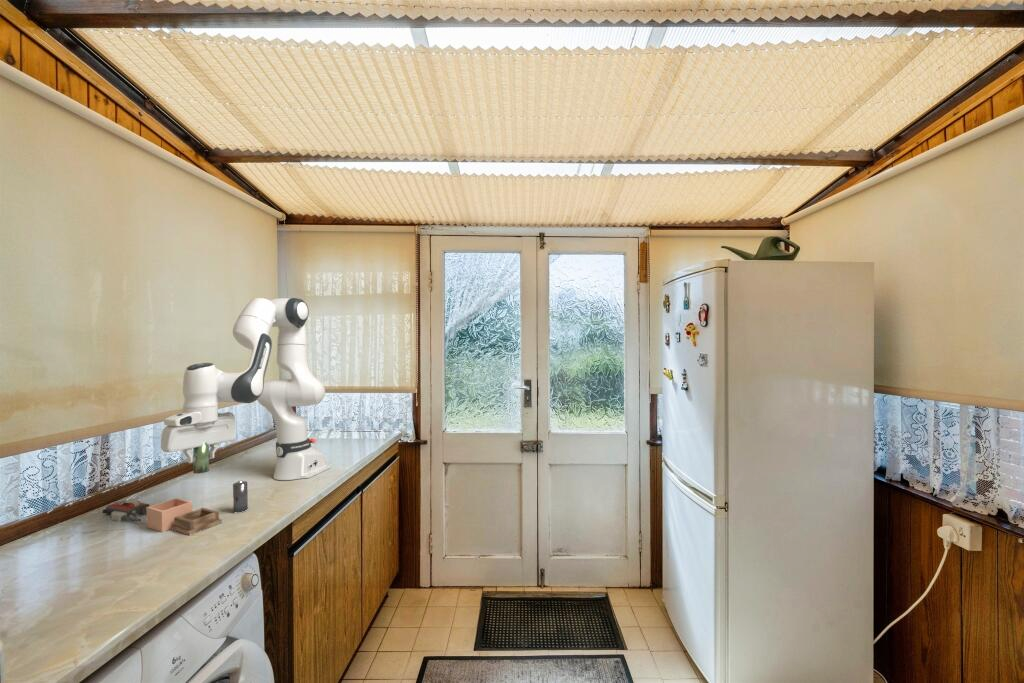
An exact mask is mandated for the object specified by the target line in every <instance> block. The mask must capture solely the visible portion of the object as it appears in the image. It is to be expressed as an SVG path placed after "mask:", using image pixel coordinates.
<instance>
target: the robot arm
mask: <svg viewBox="0 0 1024 683" xmlns="http://www.w3.org/2000/svg"><path fill="white" fill-rule="evenodd" d="M309 313H310V312H309V306H308V304H307V303H306V301H304V300H303V299H302V298H298V297H291V298H289V297H288V298H287V297H284V298H283V297H281V298H280V297H279V298H273V299H267V298H263V297H254V298H253V299H251V300H250V301H249V302H248V303H247V304H246V305H245V306H244V308H243V309H242V310H241V312H240V314H239V316H238V317H237V318H236V320H235V323H234V325H233V328H232V336H233V337H234V339H235V341H237V343H238V344H240V345H241V346H243V347H244V348H245V349H249V350H251V354H250V359H249V361H248V365H247V368H246V369H245V370H243V371H241V372H225V371H223V370H221V369H218V368H217V367H216V365H215V363H211V362H201V363H195V364H191V365H188V366H187V367H186V369H185V371H184V375H183V379H182V394H183V395H182V396H183V398H184V402H183V405H182V411H179V412H177V413H174V414H173V415H170V416H167V417H166V418H164V420H163V424H164V425H165V427H164V428H163V429H162V432H161V435H160V436H161V437H160V449H161V450H162V451H163V452H164V453H173V452H179V451H182V452H183V454H184V455H185V457H186V458H187V461H186V462H187V463H188V464H193V463H194V462H196V460H195V459H196V457H195V456H193V454H192V453H193V448H195V447H200V446H201V445H202V443H207V444H208V445H209V460H212V459H215V453H216V452H217V449H218V448H219V444H220V443H221V444H222V443H226V442H230V441H231V442H232V441H235V439H236V438H237V429H236V428H237V427H236V423H235V422H236V416H235V414H234V413H232V412H231V411H226V412H220V413H219V406H218V405H219V402H220V403H221V402H223V403H242V404H252V403H254V402H256V401H257V403H259V404H260V405H261V406H262V407H264V408H265V409H266V410H267V411H268V412H269V413H270V414H271V416H272V417H273V419H274V420H273V421H274V423H275V430H276V442H275V453H276V460H275V461H276V463H275V468H274V474H273V476H272V478H273V480H277V481H292V480H293V481H294V480H299V479H309V478H312V477H314V476H316V475H319V474H320V473H323V472H325V471H327V470H329V469H331V468H332V464H331V463H328V462H326V456H325V454H324V453H323V452H321V451H320V450H318V449H317V448H314V446H312V444H316V443H317V439H316V438H308V422H307V420H306V418H305V417H304V416H302V415H300V414H297V413H296V412H295V411H294V409H293V407H309V406H314V405H318V404H320V403H321V402H322V401H323V399H324V398H325V395H326V388H325V385H324V384H323V383H322V381H321V380H320V379H318V378H317V377H315V375H314V374H313V373H312V371H311V369H310V367H309V364H308V334H307V328H306V322H307V321H308V318H309V315H310V314H309ZM273 327H274V328H277V329H278V335H277V341H276V342H277V345H276V346H277V347H276V348H277V349H276V363H277V365H278V367H279V368H280V369H282V370H284V371H287V372H288V373H289V374H290V376H291V379H290V378H288V379H271V380H266V381H265V376H266V372H267V369H268V364H269V360H270V357H271V352H272V348H273V341H272V338H271V337H270V336H269V335H270V332H271V329H272V328H273Z"/></svg>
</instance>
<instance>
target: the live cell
mask: <svg viewBox="0 0 1024 683" xmlns="http://www.w3.org/2000/svg"><path fill="white" fill-rule="evenodd" d="M209 451H210V445H208V444H207V443H202V445H201V446H200V447H195V448H192V456H195V457H196V459H195V460H196V462H194V463H192V464H193V465H192V466H193V468H192V469H193V474H204V473H208V472H210V459H209Z"/></svg>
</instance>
